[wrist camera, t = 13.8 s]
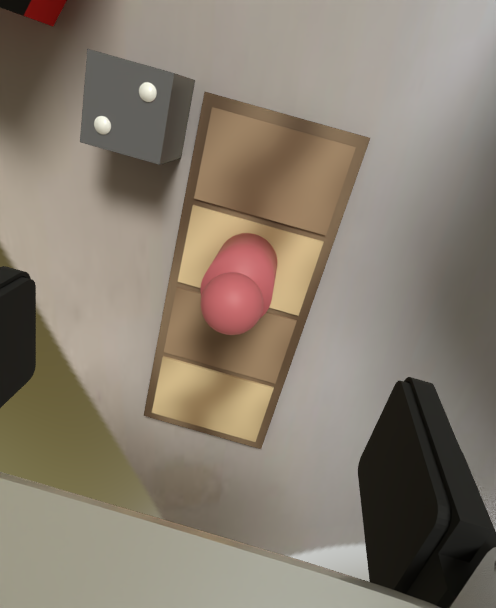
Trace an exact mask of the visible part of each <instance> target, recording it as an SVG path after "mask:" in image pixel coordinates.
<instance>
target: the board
mask: <svg viewBox="0 0 496 608" xmlns="http://www.w3.org/2000/svg"><path fill="white" fill-rule="evenodd" d="M369 140H370V138H368V137H364V136H361V135H357V134H354V133H350V132H347V131H343V130H339V129H336V128H332V127H329V126H325V125H322V124H318V123H315V122H311V121H307V120H304V119H300V118H297V117H293V116H290V115H286V114H283V113H279V112H275V111H272V110H268V109H265V108H261V107H258V106H254V105H250V104H247V103H243V102H240V101H236V100H233V99H229V98H226V97H222V96H218V95H215V94H211V93H208V92H205V93H204V98H203V103H202V109H201V114H200V119H199V125H198V130H197V135H196V140H195V146H194V151H193V156H192V162H191V167H190V172H189V178H188V183H187V188H186V194H185V199H184V204H183V209H182V215H181V220H180V225H179V231H178V236H177V241H176V247H175V252H174V257H173V263H172V268H171V273H170V278H169V284H168V289H167V294H166V300H165V305H164V310H163V316H162V321H161V326H160V332H159V337H158V342H157V347H156V353H155V358H154V363H153V369H152V374H151V379H150V385H149V390H148V395H147V401H146V406H145V411H144V416H147V417H150V418H154V419H157V420H161V421H165V422H168V423H172V424H175V425H179V426H182V427H186V428H189V429H193V430H196V431H200V432H203V433H207V434H210V435H214V436H217V437H221V438H224V439H228V440H231V441H235V442H238V443H242V444H245V445H249V446H252V447H256V448H259V449H261V448H262V445H263V442H264V439H265V436H266V433H267V430H268V428H269V425H270V422H271V419H272V416H273V413H274V411H275V408H276V405H277V402H278V399H279V396H280V393H281V391H282V388H283V385H284V382H285V379H286V376H287V374H288V371H289V368H290V365H291V362H292V359H293V356H294V354H295V351H296V348H297V345H298V342H299V339H300V337H301V334H302V331H303V328H304V325H305V322H306V320H307V317H308V314H309V311H310V308H311V305H312V302H313V300H314V297H315V294H316V291H317V288H318V285H319V283H320V280H321V277H322V274H323V271H324V268H325V265H326V263H327V260H328V257H329V254H330V251H331V248H332V246H333V243H334V240H335V237H336V234H337V231H338V228H339V226H340V223H341V220H342V217H343V214H344V211H345V209H346V206H347V203H348V200H349V197H350V194H351V192H352V189H353V186H354V183H355V180H356V177H357V174H358V172H359V169H360V166H361V163H362V160H363V157H364V155H365V152H366V149H367V146H368V143H369ZM242 233H252V234H256V235H259V236H261V237H263V238H264V239H266V240H267V241H268V242H269V243H270V244H271V245H272V247H273V248H274V250H275V252H276V255H277V262H278V264H277V271H276V277H275V283H274V289H273V295H272V301H271V304H270V307H269V309H268V310H267V312H266V313H265V314H264V315H263V316H262V317H261V318H260V319H259V321H258V322H257V323H256V325H255V326H254V327H253V328H251V329H250V330H248V331H247V332H245V333H242V334H238V335H226V334H222V333H219V332H217V331H216V330H214V329H213V328H211V327H210V326H209V325H208V323H207V322H206V321H205V319H204V317H203V315H202V311H201V292H200V289H201V282H202V279H203V277H204V275H205V273H206V272H207V270H208V268H209V267H210V265H211V263H212V262H213V260H214V259H215V257H216V255H217V254H218V252H219V251H220V249H221V247H222V246H223V244H224V243H225V242H226V241H227V240H228V239H229V238H231V237H233V236H235V235H237V234H242Z"/></svg>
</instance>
